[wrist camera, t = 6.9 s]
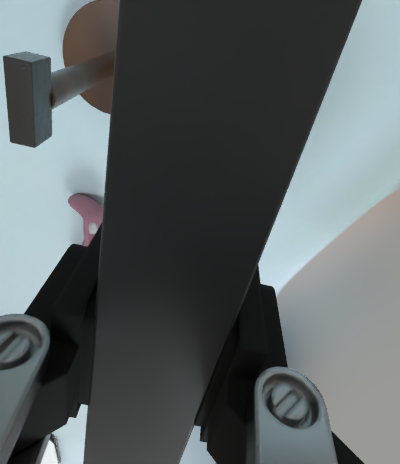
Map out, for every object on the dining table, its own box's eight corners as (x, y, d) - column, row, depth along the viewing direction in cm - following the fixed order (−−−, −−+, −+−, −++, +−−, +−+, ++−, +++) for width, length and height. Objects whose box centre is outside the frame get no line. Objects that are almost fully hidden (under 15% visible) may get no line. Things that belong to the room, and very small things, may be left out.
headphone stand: (177, 14, 32) (124, 18, 16) (160, 122, 37) (109, 208, 21) (67, -14, 31) (-104, -39, 15) (67, 100, 37) (-61, 171, 20)
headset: (308, -47, 16) (839, -421, 2) (214, 260, 26) (198, 554, 12) (182, -82, 16) (-176, -806, 2) (135, 242, 26) (23, 525, 12)
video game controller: (107, 252, 49) (118, 284, 44) (73, 256, 47) (79, 291, 42) (105, 188, 44) (117, 216, 38) (66, 190, 42) (73, 220, 37)
